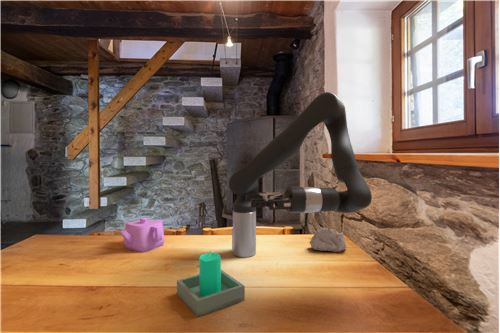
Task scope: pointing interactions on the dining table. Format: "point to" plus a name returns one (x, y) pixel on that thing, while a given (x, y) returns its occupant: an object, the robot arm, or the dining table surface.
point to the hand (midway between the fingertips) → (248, 200)
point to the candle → (210, 274)
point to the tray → (202, 305)
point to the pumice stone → (328, 240)
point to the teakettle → (143, 234)
